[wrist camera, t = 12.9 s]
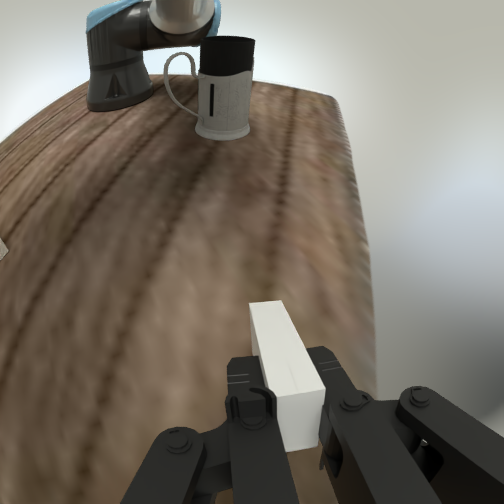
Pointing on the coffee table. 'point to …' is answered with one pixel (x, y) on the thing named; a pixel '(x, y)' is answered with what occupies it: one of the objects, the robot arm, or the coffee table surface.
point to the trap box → (2, 249)
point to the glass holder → (221, 86)
